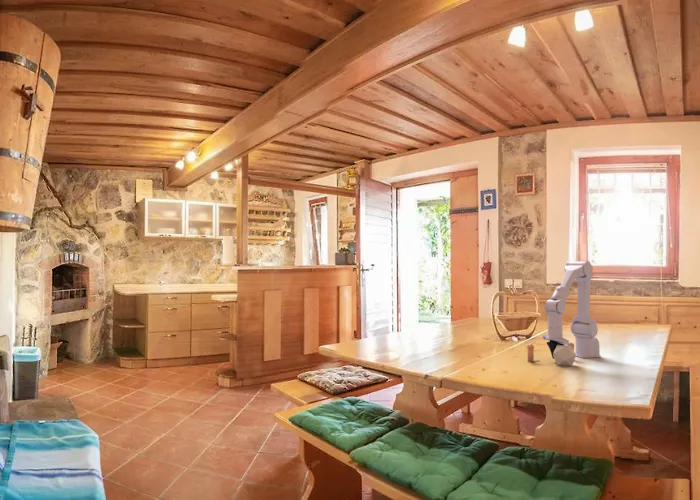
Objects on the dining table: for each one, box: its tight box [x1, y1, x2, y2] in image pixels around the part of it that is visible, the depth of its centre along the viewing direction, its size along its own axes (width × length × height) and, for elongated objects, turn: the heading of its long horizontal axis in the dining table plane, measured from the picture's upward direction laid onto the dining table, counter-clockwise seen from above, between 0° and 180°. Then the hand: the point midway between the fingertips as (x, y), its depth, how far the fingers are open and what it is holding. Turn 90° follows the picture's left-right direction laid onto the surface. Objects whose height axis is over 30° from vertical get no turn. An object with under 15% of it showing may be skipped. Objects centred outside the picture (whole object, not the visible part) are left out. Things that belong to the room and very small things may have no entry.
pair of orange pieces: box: [526, 342, 575, 363], centre depth 187 cm, size 23×3×8 cm, turn 101°
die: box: [553, 345, 577, 367], centre depth 178 cm, size 8×9×10 cm
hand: (555, 358), depth 184 cm, fingers closed
